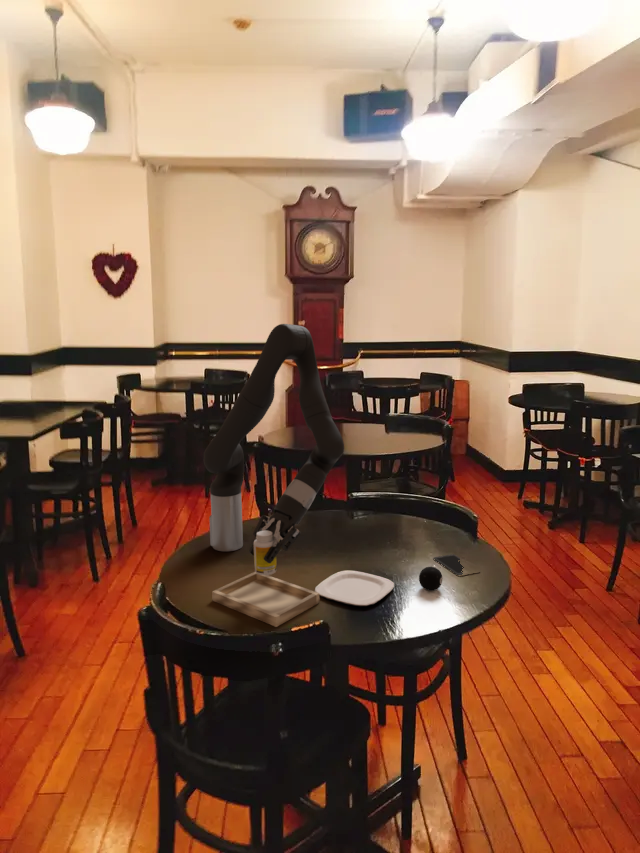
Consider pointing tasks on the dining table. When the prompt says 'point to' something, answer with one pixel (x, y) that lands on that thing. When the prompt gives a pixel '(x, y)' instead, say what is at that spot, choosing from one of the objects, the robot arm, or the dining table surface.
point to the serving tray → (266, 598)
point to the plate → (355, 588)
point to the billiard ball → (430, 578)
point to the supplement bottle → (263, 553)
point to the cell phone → (450, 563)
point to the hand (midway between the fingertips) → (259, 557)
